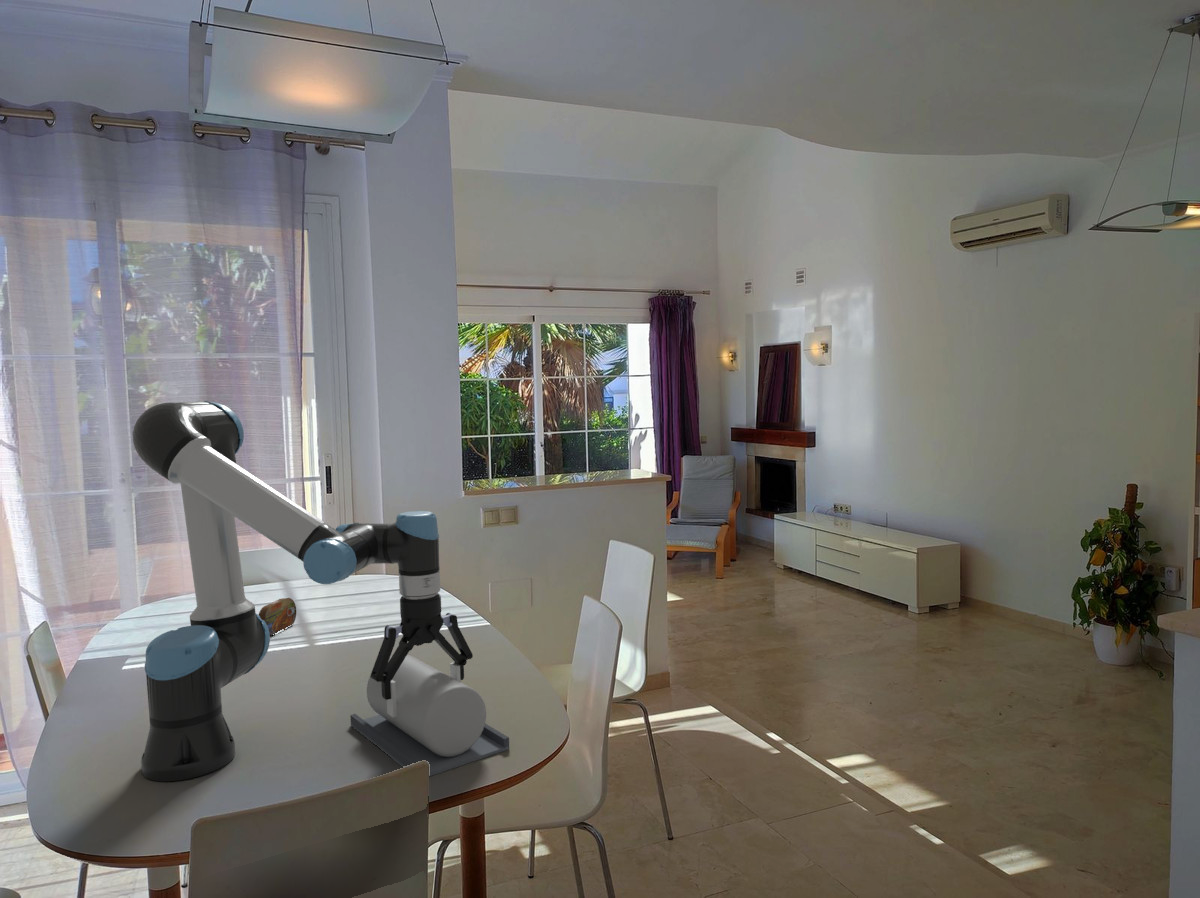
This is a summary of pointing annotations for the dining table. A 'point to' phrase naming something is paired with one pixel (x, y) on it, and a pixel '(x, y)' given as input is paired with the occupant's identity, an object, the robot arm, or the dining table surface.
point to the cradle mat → (412, 751)
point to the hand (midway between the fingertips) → (425, 706)
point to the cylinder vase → (432, 708)
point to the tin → (278, 614)
